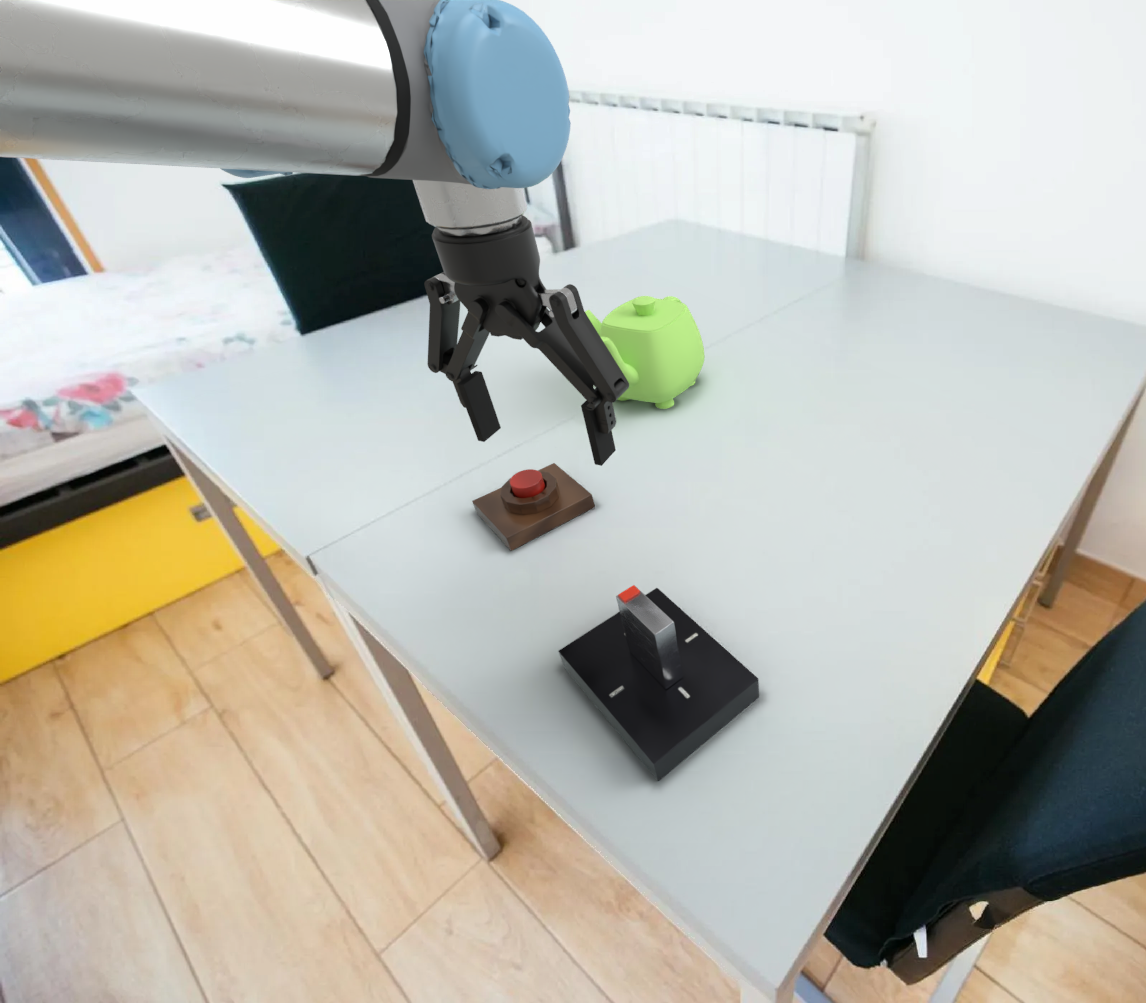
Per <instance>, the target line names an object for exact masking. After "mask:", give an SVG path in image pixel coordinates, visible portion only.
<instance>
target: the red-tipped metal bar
mask: <svg viewBox="0 0 1146 1003" xmlns="http://www.w3.org/2000/svg"><path fill="white" fill-rule="evenodd" d="M645 595H646V594H645V593H644V592H642V590H641V589H639V588H638V587H637V586H636V585H635V584H633V585H631V586H630V587H628V588H626V589H625V590H623V591H621V592H619V593H618V594H617V595H616V596H615V598H616V602H617V607H618V610H619V611H618V612H620V615H621V619H622V623H623V627H624V631H625V635H626V639H627V644H628V648H629V651H630V653H631V654H632V655H633V656H634V657H635V658H636V659H637V660H638V661H639V662H640V663H641V664H642V665H643V666H644V667H645V668H646V669H647V670H648V671H649V672H650V673H651V674H652V676H653V677H654V678H655V679H656V680H657V681H658V682H659V683H660V684H661V685H662V686H663V687H664V688H665V689H668V688H669V687H670V686H672V685H673V684H674V683H676V682H677V681H678V680H680V679H681V678H682V677H683V674H682V668H681V662H680V656H679V650H678V644H677V638H676V632H675V625H674V622H673V621H672V620H671V619H670V618H669V617H668V616H667V615H666V614H665V613H664V612H663V611H662V610H661V609H659V608H658V607H657V606H656V605H655V604H654V603H653V602H652V601H651V600H650V599H649V598H648V597H647V596H645Z"/></svg>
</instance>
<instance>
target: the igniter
mask: <svg viewBox="0 0 1146 1003" xmlns="http://www.w3.org/2000/svg"><path fill="white" fill-rule="evenodd" d="M536 470H537V469H536ZM537 471H539V472H540V473H541V474H542V477H543V480H544V483H545V488H544V490H543V491H542V493H540V494H538V495H535V496H533V497H529V498H518V497H516V496H515V495H514V494H513V491H512V488H511V485H510V479H511V477H510V478H509V479H507V481H506V482H505V483H504V484H502V486H501V487H499V488H497V489H495V490H493V491H490V492H488V493H486V494H484V495H482V496H480V497H478V498H476V499H473V500H471V503H472V505H473V506H474V510H475V513H476V515H477V516H478V517H480V519H481V520H482V521H483V522H484V523H485V524H486V525H487V526H488V527H489V528H490V529H491V531H492V532H493V533H494V534H495V535H496V536H497V537H498V538H499V539H500V540H501V541H502V543H503V544H504V545H505V546H506V547H507V549H508V550H510V551H514V550H516V549H518V548H520V547H522V546H524V545H526V544H527V543H530V542H531V541H533V540H535V539H537V538H539V537H541V536H543V535H544V534H547V533H549V532H550V531H552V530H554V529H556V528H558V527H560V526H562V525H563V524H566V523H568V522H570V521H571V520H573V519H575V518H577V517H579V516H581V515H583V514H584V513H586V512H589V511H590V510H593V509H594V508H596V506H595V502H594V497H593V494H592V493H591V492H590V491H588V490H587V489H586V488H585V487H584V486H582V485H581V483H579V482H577V480H575V479H574V478H573V477H572V476H570V474H568V473H567V472H565V470H564V469H563V468H561V467H560V466H559V465H558V464H556V463H555V462H553V463H551V464H549V465H546V466H544V467H542V468H540V469H538V470H537Z"/></svg>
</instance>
